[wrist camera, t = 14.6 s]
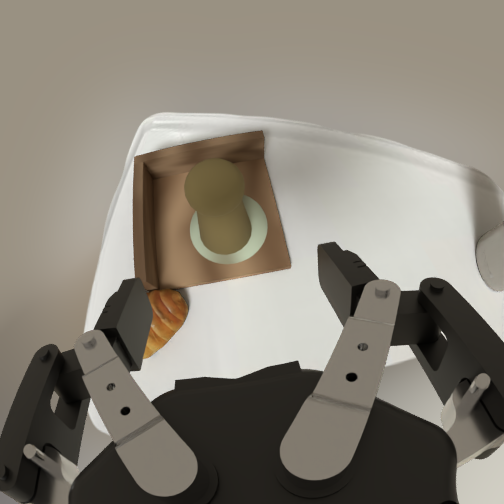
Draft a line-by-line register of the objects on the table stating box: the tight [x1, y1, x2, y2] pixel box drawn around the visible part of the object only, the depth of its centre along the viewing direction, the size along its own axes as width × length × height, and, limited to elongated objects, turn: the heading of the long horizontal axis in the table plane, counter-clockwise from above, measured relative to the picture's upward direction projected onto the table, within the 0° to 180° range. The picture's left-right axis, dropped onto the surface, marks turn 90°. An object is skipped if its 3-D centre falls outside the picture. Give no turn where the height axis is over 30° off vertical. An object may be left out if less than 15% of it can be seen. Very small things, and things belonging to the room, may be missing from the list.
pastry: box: [143, 288, 188, 359], centre depth 29 cm, size 9×7×4 cm
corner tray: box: [133, 131, 291, 292], centre depth 32 cm, size 16×16×5 cm
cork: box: [184, 158, 252, 255], centre depth 28 cm, size 6×6×11 cm
